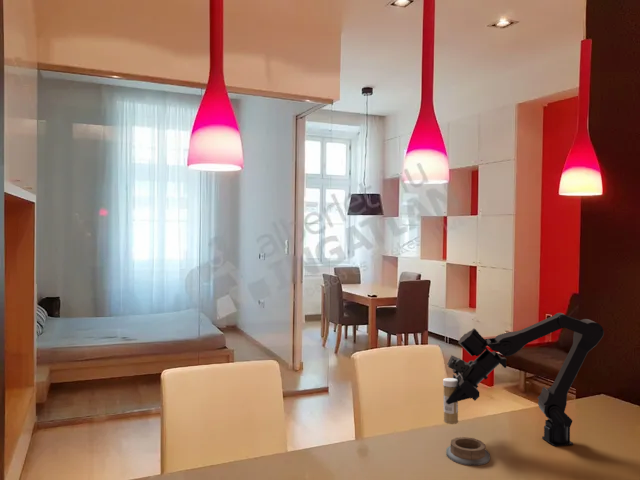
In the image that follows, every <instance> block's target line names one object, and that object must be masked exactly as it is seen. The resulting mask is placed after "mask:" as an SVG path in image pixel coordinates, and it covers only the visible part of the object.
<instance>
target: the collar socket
mask: <svg viewBox="0 0 640 480" xmlns="http://www.w3.org/2000/svg"><path fill="white" fill-rule="evenodd" d="M445 453H446V454H445V455H446V457H447V458H448V459H449V460H451V461H453V462H455V463H456V464H461V465H465V466H482V465H485V464H488V463H489V462H490V461H491V454H490V452H489V451H488V450H487V449H486V444H485V443H484V442H483V441H482V440H479V439H476V438H475V437H468V436H462V437H461V436H460V437H455V438H453V439H451V440H450V445H449V446H448V447H447V448H446V451H445Z"/></svg>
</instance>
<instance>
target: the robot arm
mask: <svg viewBox="0 0 640 480" xmlns="http://www.w3.org/2000/svg"><path fill="white" fill-rule="evenodd" d="M561 329H567V330H570V331H573V335H572V336H573V338H572V339H573V340H572V345H571V347H570V349H569V350H568V351H569V352H568V354H567V356H566V358H565V359H564V362H563V363H562V365H561V367H560V370H559V371H558V373H557V375H556V377H555V379H554V381H553V383H552V385H551V386H549V388H547V387H545V386H544V387H542V390H541V392H540V394H539V395H538V396H537V397H536V398H537V399H538V402H537V405H538V407H539V409H540V411H541V412H542V413H543V414H544V416H545V417H546V418H547V420H546V419H545V422H544V423H545V424H544V426H543V436H542V437H541V438H542V440H545V441H546V442H547V443H549V444H550V445H552V446H553V447H562V446H573V445H574V442H572V441H571V426H572V423H573V419H572V418H571V417H570V416H569V415H567V413H566V412H565V411H566V409H567V401H568V393H569V391H570V389H571V387H572V385H573V383H574V382H575V379H576V377H577V375H578V373H579V371H580V369H581V367H582V366H583V363H584V361H585V359H586V357H587V355H588V353H589V352H590V351H592V350H593V348H595V347H596V346H598V344H599V343H600V341H601V340H602V338H604V335H605V331H604V328H603V326H602V325H601V324H600V323H598V322H595V321H593V320H591V319H588V318H583V319H578V318H575V317H572V316H569V315H567V314H565V313H563V312H556V313H555V314H553V315H552V316H550V317H546V318H545V319H542V320H541V321H538V322H536V323H534V324H531V325H529V326H527V327H525V328H522V329H520V330H517V331H508V332H504V333H500V334H498V335H497V336H495V337H491V338H484V336H482V335H481V334H480V333H479V331H478V330H477V329H475V328H472V329H471V330H469V331H467V332H466V333H464V334H463V335H462V336H461V337H460V338H459V340H458V344H459V345H460V346H461V347H462V348H463V349H464V350H465V351H466V352H467V353H468V354H469V355H470V356H471V357H474V356H475V357H476V358H475V359H474V360H469V361H468V362H466V361H465V360H464V359H461V358H458V357H456V356H454V355H452V354H451V356H450V357H449V360H448V361H447V367H448V368H450V369H451V370H452V372H453V373H454V374H452V378H455V379H457V380H458V382H457V381H456V389H455V390H454V391H453V393H452V394H451V395H450V397H449V398H448V399H447V401H446V403H447V404H451V403H455V402H458V403H459V402H460V401H461V402H462V401H464V400H468V399H472V400H473V401H477V400H478V399H479V398H480V390H479V389H478V388H479V386H478V385H479V384H480V383H481V382H482V381H483V380H487V379H488V378H489V377H488V375H489V374H491V372H492V371H494V370H495V369H496V368H497V367H498V366H499V365H501V366H502V367H503V368H504V369H506V368H507V358H506V357H512V356H513V355H515V354H516V353H518V352H520V351H521V350H522V349H523V348H524V347H525V346H526V345H527V344H529V343H531V342H534V341H536V340H539V339H541V338H543V337H545V336H548V335H549V334H550V335H551V334H552V333H555V332H557V331H559V330H561ZM487 347H488V348H487ZM489 349H491V350H492V351H491V350H489ZM501 356H503V357H501Z"/></svg>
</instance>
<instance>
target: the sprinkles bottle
mask: <svg viewBox="0 0 640 480" xmlns="http://www.w3.org/2000/svg"><path fill="white" fill-rule="evenodd" d="M456 381H457V382H458V380H457V379H455V378H453V377H446V378H443V379H442V386H443V422H444V423H445V424H447V425H448V424H449V425H457V424H459V401H458V402H455V403H451V404H447V403H446V401H447V399H448V398H449V397H450V395H451V394H452V393H453V391H454V390H455V389H456Z"/></svg>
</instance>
